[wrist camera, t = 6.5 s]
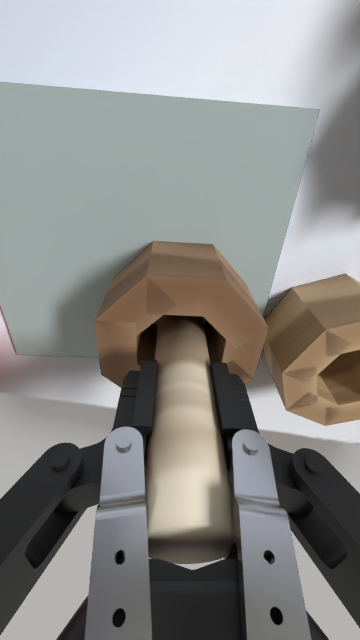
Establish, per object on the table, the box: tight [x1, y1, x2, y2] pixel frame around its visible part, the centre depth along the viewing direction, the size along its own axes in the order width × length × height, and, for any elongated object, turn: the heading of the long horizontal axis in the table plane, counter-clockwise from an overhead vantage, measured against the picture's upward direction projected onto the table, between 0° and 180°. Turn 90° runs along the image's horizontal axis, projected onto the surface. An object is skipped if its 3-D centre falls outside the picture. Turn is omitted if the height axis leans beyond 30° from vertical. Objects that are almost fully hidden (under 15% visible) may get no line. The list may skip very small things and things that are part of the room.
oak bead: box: [263, 274, 360, 426], centre depth 19 cm, size 9×9×5 cm
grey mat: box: [0, 82, 320, 358], centre depth 17 cm, size 16×18×1 cm
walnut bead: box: [94, 241, 268, 388], centre depth 16 cm, size 9×9×5 cm
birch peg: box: [145, 315, 234, 564], centre depth 13 cm, size 3×3×12 cm
